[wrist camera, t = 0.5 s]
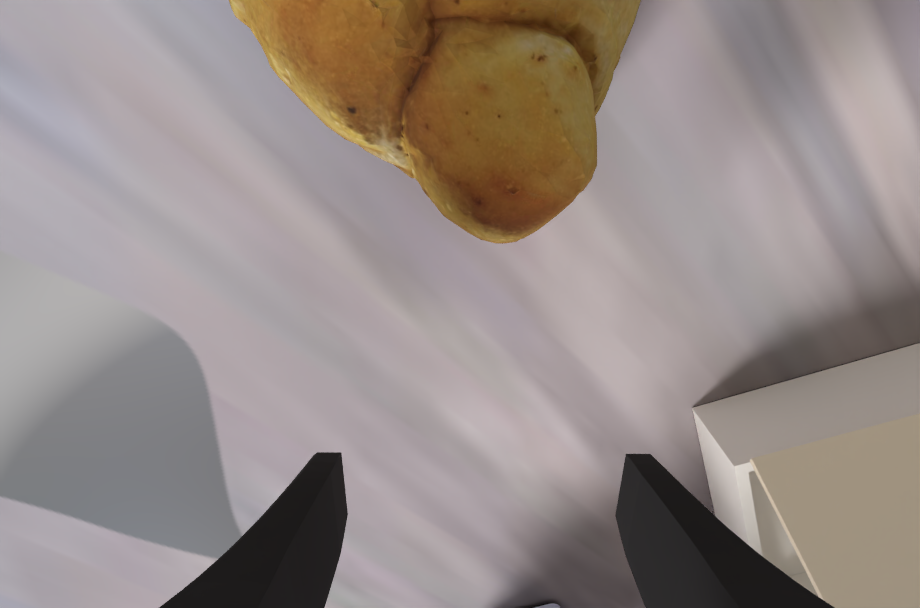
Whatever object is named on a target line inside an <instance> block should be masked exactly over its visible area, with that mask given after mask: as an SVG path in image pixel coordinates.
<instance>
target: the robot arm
mask: <svg viewBox="0 0 920 608" xmlns="http://www.w3.org/2000/svg"><path fill="white" fill-rule="evenodd" d="M347 515H348V513H347V504H346V494H345V484H344V475H343V465H342V456H341V453H316V454H315V455H314V456H313V457H312V458H311V459H310V461H309V462H308V463H307V464H306V465H305V467H304V468H303V469H302V470H301V472H300V473H299V474H298V475H297V476H296V478H295V479H294V480H293V481H292V482H291V484H290V485H289V486H288V487H287V488H286V490H285V491H284V492H283V493H282V494H281V495H280V496H279V497H278V499H277V500H276V501H275V502H274V503H273V504H272V505H271V506H270V508H269V509H268V510H267V511H266V512H265V513H264V514H263V515H262V516H261V517H260V519H259V520H258V521H257V522H256V523H255V524H254V525H253V526H252V527H251V528H250V529H249V530H248V531H247V532H246V533H245V534H244V535H243V536H242V537H241V538H240V539H239V540H238V541H237V542H236V543H235V544H234V545H233V546H232V547H231V548H230V549H229V550H228V551H227V552H226V553H225V554H223V555H222V556H221V557H220V558H219V559H218V560H217V561H216V562H215V563H214V564H212V565H211V566H210V567H209V568H208V569H207V570H206V571H204V572H203V573H202V574H201V575H200V576H199V577H198V578H196V579H195V580H194V581H193V582H191V583H190V584H189V585H188V586H186V587H185V588H184V589H183V590H182V591H180V592H179V593H178V594H176V595H175V596H174V597H173V598H171V599H170V600H169V601H167V602H166V603H165V604H164V605H162V606H161V607H160V608H324V607H325V604H326V601H327V597H328V594H329V591H330V587H331V584H332V581H333V577H334V574H335V571H336V567H337V564H338V561H339V557H340V553H341V548H342V543H343V538H344V532H345V526H346V521H347ZM616 519H617V523H618V527H619V532H620V536H621V540H622V543H623V547H624V551H625V555H626V558H627V560H628V563H629V566H630V568H631V571H632V573H633V576H634V579H635V581H636V584H637V587H638V589H639V592H640V594H641V597H642V599H643V602H644V605H645V607H646V608H835V607H833V606H832V605H830V604H829V603H827V602H825V601H824V600H822V599H821V598H819V597H818V596H816V595H815V594H813V593H812V592H810V591H809V590H808V589H806V588H805V587H803V586H802V585H800V584H799V583H797V582H796V581H795V580H793V579H792V578H791V577H789V576H788V575H787V574H785V573H784V572H783V571H781V570H780V569H779V568H777V567H776V566H775V565H773V564H772V563H770V562H769V561H768V560H767V559H765V558H764V557H763V556H761V555H760V554H759V553H758V552H756V551H755V550H754V549H753V548H751V547H750V546H749V545H748V544H747V543H745V542H744V541H743V540H742V539H741V538H740V537H738V536H737V535H736V534H735V533H734V532H732V531H731V530H730V529H729V528H728V527H727V526H725V525H724V524H723V523H722V522H721V521H720V520H719V519H718V518H716V517H715V516H714V515H713V514H712V513H711V512H710V511H709V510H708V509H707V508H706V507H704V506H703V505H702V504H701V503H700V502H699V501H698V500H697V499H696V498H695V497H694V496H693V495H692V494H691V493H690V492H689V491H688V490H687V489H686V488H684V487H683V486H682V485H681V484H680V483H679V482H678V481H677V480H676V479H675V478H674V477H673V476H672V475H671V474H670V473H669V472H668V471H667V470H666V469H665V468H664V467H663V466H662V465H661V464H660V463H659V462H658V461H657V460H656V459H655V458H654V457H653V456H652V455H651V454H626V457H625V463H624V469H623V475H622V481H621V487H620V492H619V498H618V504H617V510H616ZM534 608H561V607H560V606H559V605H557V604H554V603H551V604H547V605H542V606H538V607H534Z"/></svg>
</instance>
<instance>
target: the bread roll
mask: <svg viewBox="0 0 920 608" xmlns="http://www.w3.org/2000/svg"><path fill="white" fill-rule="evenodd" d="M640 1H641V0H229V2H230V5H231V8H232V10H233V12H234V14H235V16H236V17H237V18H238V19H239V20H240V21H242V22H243V23H244V24H245V25H247V26H248V27H249V28H250V29H251V31H252V32H253V34H254V35H255V37H256V38H257V40H258V41H259V43H260V44H261V46H262V48H263V50H264V52H265V54H266V56H267V59H268V61H269V64H270V66H271V68H272V69H273V70H274V71H275V73H276V74H277V75H278V77H279V78H280V79H281V80H282V81H283V82H284V83H285V84H286V85H287V86H288V87H289V88H290V89H291V90H292V91H293V92H294V93H295V94H296V95H297V96H298V97H299V99H300V100H301V101H302V102H303V103H304V104H305V105H306V106H307V107H308V108H309V109H310V110H311V111H312V112H313V113H314V114H315V115H316V116H317V117H318V118H319V119H320V120H321V121H322V122H323V123H324V124H325V125H326V126H328V127H329V128H330V129H332V130H333V131H335V132H336V133H337V134H339V135H340V136H342V137H343V138H344V139H346V140H348V141H351V142H353V143H356V144H358V145H359V146H360V147H362V148H363V149H364V150H365V151H367V152H369V153H371V154H373V155H375V156H377V157H378V158H380V159H382V160H384V161H387V162H389V163H392V164H394V165H395V166H396V167H398V168H399V169H400V170H402V171H403V172H404V173H406V174H407V175H408V176H409V177H411V178H416V180H417V181H418V182H419V184H420V185H421V187H422V189H423V191H424V192H425V193H426V195H427V196H428V197H429V198H430V199H431V200H432V202H433V203H434V204H435V205H436V207H437V208H438V209H439V211H440V212H441V213H442V214H443V215H444V216H445V217H446V218H448V219H449V220H450V221H452V222H453V223H455V224H456V225H458V226H459V227H461V228H462V229H464V230H465V231H467V232H468V233H470V234H472V235H474V236H475V237H477V238H479V239H481V240H485V241H489V242H493V243H510V242H516V241H518V240H520V239H522V238H525V237H526V236H528V235H530V234H532V233H534V232H535V231H537V230H538V229H540V228H541V227H542V226H544V225H545V224H546V223H548V222H549V221H550V220H551V219H553V218H554V217H555V216H557V215H558V214H559V213H560V212H561V211H562V210H564V209H565V208H566V207H567V206H568V205H569V204H570V203H572V202H573V200H574V199H575V198H576V196H577V195H578V194H579V193H580V192H582V191H583V190H584V189H585V187H586V186H587V185H588V183H589V182H590V180H591V179H592V176H593V173H594V171H595V169H596V166H597V132H596V122H595V115H596V114H597V112H598V111H599V109H600V107H601V105H602V103H603V101H604V99H605V97H606V94H607V91H608V89H609V86H610V83H611V81H612V78H613V72H614V70H615V68H616V66H617V64H618V62H619V59H620V54H621V52H622V50H623V47H624V45H625V43H626V40H627V38H628V36H629V33H630V31H631V28H632V26H633V24H634V20H635V17H636V14H637V11H638V8H639V5H640Z"/></svg>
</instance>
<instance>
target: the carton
mask: <svg viewBox="0 0 920 608" xmlns="http://www.w3.org/2000/svg"><path fill="white" fill-rule="evenodd" d="M692 410H693V414H694V419H695V424H696V428H697V433H698V438H699V442H700V447H701V452H702V457H703V461H704V466H705V471H706V475H707V480H708V485H709V489H710V494H711V499H712V503H713V508H714V513H715V517H716V518H718V519H719V520H720V521H721V522H722V523H723V524H724V525H725V526H727V527H728V528H729V529H730V530H731V531H732V532H734V533H735V534H736V535H737V536H738V537H740V538H741V539H742V540H743V541H744V542H745V543H747V544H748V545H749V546H750V547H751V548H753V549H754V550H755V551H756V552H758V553H759V554H760V555H761V556H763V557H764V558H765V559H767V560H768V561H769V562H770V563H772V564H773V565H775V566H776V567H777V568H779V569H780V570H781V571H783V572H784V573H785V574H787V575H788V576H789V577H791V578H792V579H793V580H795V581H796V582H797V583H799V584H800V585H802V586H803V587H805V588H806V589H808V590H809V591H810V592H812V593H813V594H815V595H816V596H818V594H817V593H816V591H815V589H814V587H813V585H812V583H811V581H810V579H809V577H808V575H807V573H806V571H805V569H804V567H803V565H802V563H801V561H800V559H799V557H798V555H797V553H796V551H795V549H794V547H793V545H792V543H791V541H790V539H789V537H788V535H787V533H786V532H785V530H784V528H783V526H782V524H781V522H780V520H779V518H778V516H777V514H776V512H775V510H774V508H773V506H772V504H771V502H770V500H769V498H768V496H767V494H766V492H765V490H764V488H763V486H762V484H761V482H760V480H759V478H758V476H757V474H756V473H755V471H754V469H753V467H752V465H751V463H750V460H751V459H752V458H755V457H759V456H763V455H766V454H770V453H774V452H778V451H781V450H785V449H789V448H792V447H796V446H800V445H804V444H807V443H811V442H815V441H819V440H822V439H826V438H830V437H834V436H837V435H841V434H845V433H849V432H852V431H856V430H860V429H863V428H867V427H871V426H875V425H878V424H882V423H886V422H890V421H893V420H897V419H901V418H905V417H908V416H912V415H916V414H919V413H920V343H918V344H914V345H911V346H907V347H904V348H900V349H897V350H893V351H890V352H886V353H883V354H879V355H876V356H872V357H869V358H865V359H862V360H858V361H855V362H851V363H848V364H844V365H841V366H837V367H834V368H830V369H827V370H823V371H820V372H816V373H813V374H809V375H806V376H802V377H799V378H795V379H792V380H788V381H785V382H781V383H778V384H774V385H771V386H767V387H764V388H760V389H757V390H753V391H750V392H746V393H743V394H739V395H736V396H732V397H729V398H725V399H722V400H718V401H715V402H711V403H707V404H704V405H700V406H697V407H693V408H692ZM818 597H819V596H818Z"/></svg>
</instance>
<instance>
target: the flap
mask: <svg viewBox="0 0 920 608" xmlns="http://www.w3.org/2000/svg"><path fill="white" fill-rule="evenodd" d="M750 463H751V465H752V467H753V469H754V471H755V473H756V474H757V476H758V478H759V480H760V482H761V484H762V486H763V488H764V490H765V492H766V494H767V496H768V498H769V500H770V502H771V504H772V506H773V508H774V510H775V512H776V514H777V516H778V518H779V520H780V522H781V524H782V526H783V528H784V530H785V532H786V533H787V535H788V537H789V539H790V541H791V543H792V545H793V547H794V549H795V551H796V553H797V555H798V557H799V559H800V561H801V563H802V565H803V567H804V569H805V571H806V573H807V575H808V577H809V579H810V581H811V583H812V585H813V587H814V589H815V591H816V593H817V594H818V596H819V598H821V599H822V600H824V601H825V602H827V603H829V604H830V605H832V606H833V607H835V608H920V413H919V414H916V415H912V416H908V417H905V418H901V419H897V420H893V421H890V422H886V423H882V424H878V425H875V426H871V427H867V428H863V429H860V430H856V431H852V432H849V433H845V434H841V435H837V436H834V437H830V438H826V439H822V440H819V441H815V442H811V443H807V444H804V445H800V446H796V447H792V448H789V449H785V450H781V451H778V452H774V453H770V454H766V455H763V456H759V457H755V458H752V459H751V460H750Z"/></svg>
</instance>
